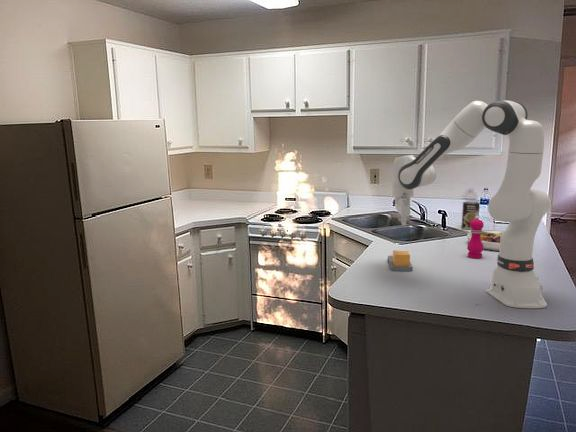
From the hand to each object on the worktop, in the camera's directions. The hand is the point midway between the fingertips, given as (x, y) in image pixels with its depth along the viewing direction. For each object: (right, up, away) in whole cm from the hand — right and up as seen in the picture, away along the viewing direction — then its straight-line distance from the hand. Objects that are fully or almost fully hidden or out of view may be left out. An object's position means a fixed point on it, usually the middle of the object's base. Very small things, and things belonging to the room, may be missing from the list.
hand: (402, 223), depth 203 cm
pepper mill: (+40, -17, +19) cm, 47 cm away
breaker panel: (+1, -19, +8) cm, 21 cm away
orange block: (0, -18, +4) cm, 19 cm away
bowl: (+60, -13, +40) cm, 73 cm away
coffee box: (+60, -5, +77) cm, 98 cm away
